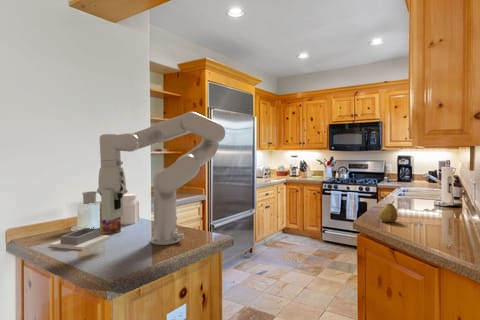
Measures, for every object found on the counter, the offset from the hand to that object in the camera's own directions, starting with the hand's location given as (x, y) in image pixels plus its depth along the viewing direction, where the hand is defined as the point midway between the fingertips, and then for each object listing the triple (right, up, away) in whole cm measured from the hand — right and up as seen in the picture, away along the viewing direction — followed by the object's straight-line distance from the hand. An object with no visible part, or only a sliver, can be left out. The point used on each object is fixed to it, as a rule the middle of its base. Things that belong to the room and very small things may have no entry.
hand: (112, 208), depth 120 cm
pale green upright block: (0, -4, 0) cm, 4 cm away
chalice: (-24, -15, +29) cm, 41 cm away
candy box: (-10, -15, +20) cm, 27 cm away
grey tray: (-16, -15, +5) cm, 23 cm away
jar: (-9, -14, +41) cm, 44 cm away
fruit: (+135, -15, +41) cm, 142 cm away
